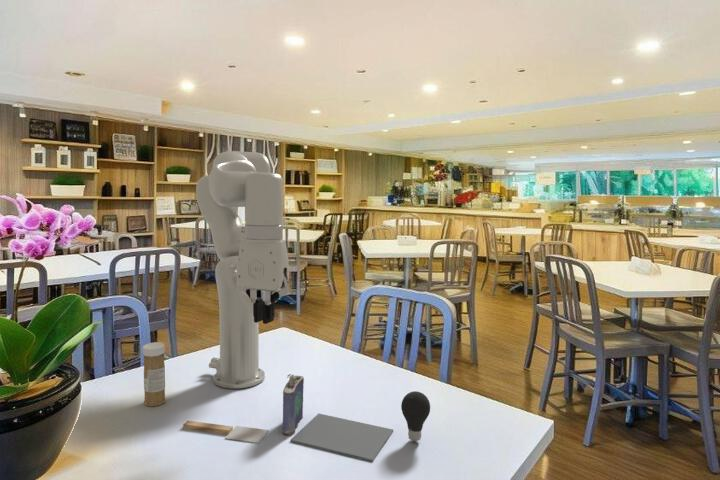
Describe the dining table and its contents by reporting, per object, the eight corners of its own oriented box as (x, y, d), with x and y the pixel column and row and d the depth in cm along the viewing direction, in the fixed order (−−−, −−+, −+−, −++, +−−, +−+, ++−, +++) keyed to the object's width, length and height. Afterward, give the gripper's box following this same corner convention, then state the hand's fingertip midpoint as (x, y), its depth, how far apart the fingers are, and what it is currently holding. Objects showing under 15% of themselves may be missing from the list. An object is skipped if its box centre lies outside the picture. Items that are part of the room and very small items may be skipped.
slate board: (290, 441, 94) (290, 439, 94) (318, 415, 105) (318, 413, 105) (372, 461, 87) (372, 459, 87) (393, 431, 99) (393, 429, 98)
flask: (292, 436, 96) (293, 384, 94) (278, 435, 96) (278, 383, 95) (304, 415, 105) (305, 367, 104) (291, 414, 105) (292, 366, 104)
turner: (178, 432, 96) (178, 428, 96) (192, 421, 101) (192, 416, 101) (258, 444, 93) (258, 439, 93) (268, 431, 98) (268, 426, 97)
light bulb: (421, 452, 91) (423, 401, 90) (395, 443, 94) (396, 394, 93) (433, 439, 96) (435, 391, 95) (407, 431, 99) (409, 384, 98)
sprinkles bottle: (145, 399, 110) (144, 342, 109) (166, 397, 112) (165, 340, 110) (142, 408, 106) (141, 348, 105) (165, 406, 107) (163, 347, 106)
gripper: (220, 232, 98) (221, 321, 100) (288, 237, 92) (287, 331, 94) (242, 230, 105) (243, 313, 107) (306, 234, 99) (305, 321, 101)
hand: (263, 321), depth 101 cm, fingers closed
